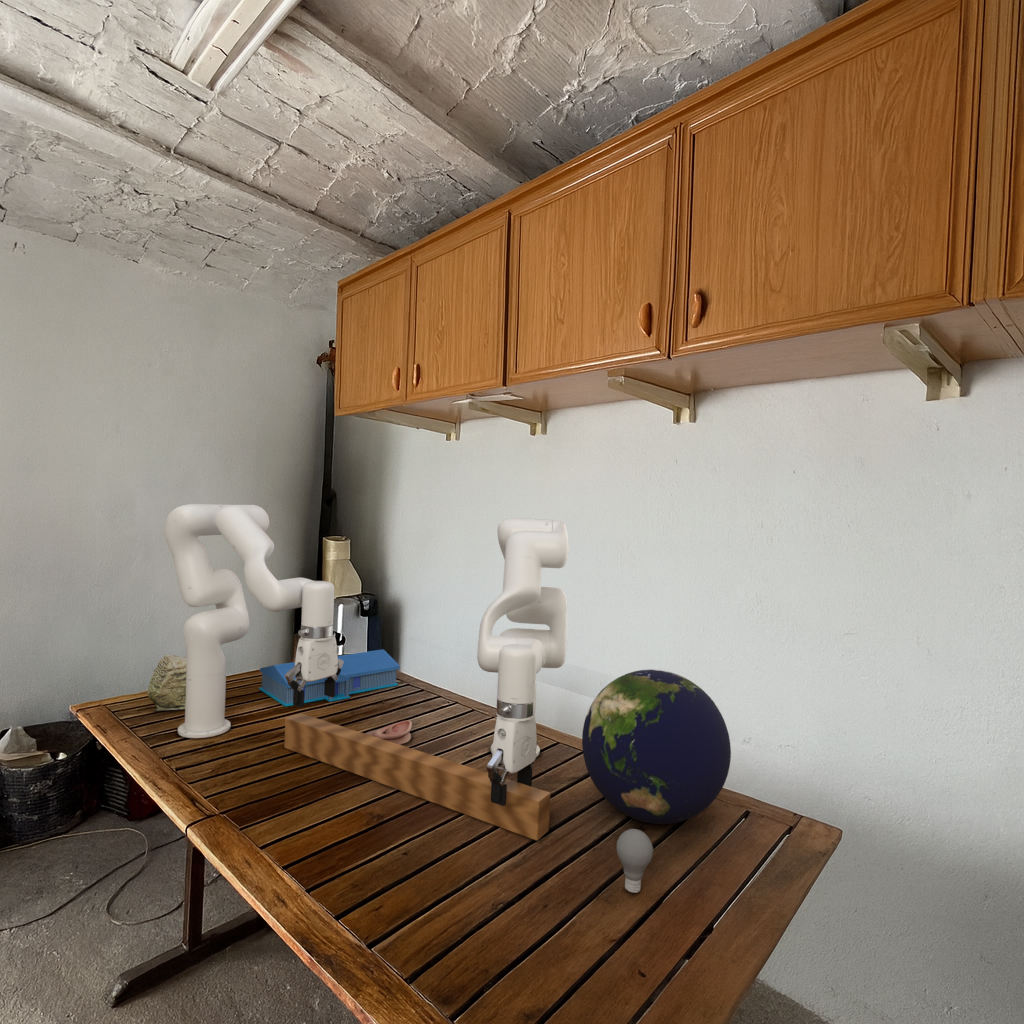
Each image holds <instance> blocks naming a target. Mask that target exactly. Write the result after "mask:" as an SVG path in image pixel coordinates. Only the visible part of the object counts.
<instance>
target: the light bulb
mask: <svg viewBox="0 0 1024 1024" xmlns="http://www.w3.org/2000/svg"><path fill="white" fill-rule="evenodd" d="M615 849H616V854H617V857H618V859H619V861H620V863H621V865H622V867H623V873H624V874H623V875H624V876H625V878H624V888H625V890H627V891H628V892H630V893H634V894H635V893H639V892H640V891H641V889H642V887H641V886H642V879H643V877H644V875H645V871H646V868H647V867H648V866H649V864H650V863H651V861H652V859H653V855H654V847H653V843H652V841H651V838H649V836H648V835H647V834H646V833H645V832H643V831H642V830H641V829H636V828H629V829H627V830H625V831H623V832H622V833H621V834H620V835H619V837H618V839H617V841H616V847H615Z"/></svg>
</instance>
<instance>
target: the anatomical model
mask: <svg viewBox="0 0 1024 1024" xmlns="http://www.w3.org/2000/svg"><path fill="white" fill-rule="evenodd" d="M412 728H413V722H412V721H411V720H409V719H408V720H402V721H399V722H395V723H392V724H389V725H386V726H384V727H381V728H378V729H374V730H370V731H367V732H365V733H364V734H368V735H371V736H374V737H377V738H380V739H383V740H386V741H390V742H393V743H396V744H399V745H404V744H406V743H408V742H410V740H411V739H412V734H411V733H410V732H411V730H412Z"/></svg>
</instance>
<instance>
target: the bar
mask: <svg viewBox="0 0 1024 1024" xmlns="http://www.w3.org/2000/svg"><path fill="white" fill-rule="evenodd" d="M284 749H286V750H290V751H292V752H295V753H297V754H301V755H303V756H306V757H308V758H310V759H314V760H317V761H320V762H322V763H325V764H328V765H330V766H333V767H336V768H338V769H341V770H344V771H346V772H349V773H352V774H355V775H358V776H360V777H363V778H364V779H365V778H366V779H368V780H371V781H374V782H377V783H379V784H382V785H385V786H386V787H387V786H388V787H390V788H393V789H396V790H398V791H401V792H404V793H406V794H409V795H411V796H414V797H417V798H420V799H422V800H425V801H428V802H431V803H434V804H437V805H439V806H442V807H444V808H447V809H450V810H453V811H455V812H458V813H461V814H464V815H466V816H468V817H471V818H474V819H477V820H480V821H483V822H485V823H488V824H490V825H493V826H496V827H499V828H501V829H504V830H507V831H509V832H512V833H515V834H518V835H520V836H523V837H526V838H528V839H531V840H534V841H539V840H541V838H542V837H544V835H546V834H547V833H548V832H549V831H550V817H551V815H550V814H551V795H552V794H551V792H549V791H546V790H544V789H540V788H537V787H533V786H532V787H531V786H528V785H525V784H522V783H518V782H517V781H515V780H512V779H509V778H507V779H506V782H505V784H507V794H506V805H504V806H501V805H498V804H495V803H492V802H491V782H490V778H489V777H488V771H484V770H481V769H477V768H474V767H471V766H468V765H465V764H461V763H458V762H457V761H456V762H455V761H453V760H449V759H446V758H443V757H441V756H437V755H433V754H429V753H427V752H424V751H421V750H417V749H414V748H411V747H408V746H405V745H403V744H400V745H399V744H396V743H393V742H390V741H386V740H383V739H380V738H377V737H374V736H371V735H368V734H365V733H364V732H361V731H358V730H355V729H352V728H348V727H345V726H342V725H340V724H336V723H333V722H329V721H327V720H324V719H321V718H317V717H314V716H311V715H307V714H304V713H302V712H300V713H296V714H293V715H289V716H288V717H285V721H284Z"/></svg>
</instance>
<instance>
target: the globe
mask: <svg viewBox="0 0 1024 1024" xmlns="http://www.w3.org/2000/svg"><path fill="white" fill-rule="evenodd" d="M581 748H582V756H583V759H584V764H585V767H586V770H587V772H588V775H589V777H590V779H591V781H592V784H593V785H594V786H595V788H596V789H597V791H598V793H600V795H601V796H602V797H603V798H604V799H605V800H606V801H607V802H608V803H609V805H611V806H612V807H613V808H614V809H616V810H618V812H620V813H622V814H623V815H625V816H627V817H629V818H632V819H634V820H636V821H639V822H643V823H646V824H652V825H672V824H673V825H674V824H678V823H682V822H685V821H688V820H690V819H692V818H694V817H697V816H698V815H699V814H700V813H702V812H704V811H705V810H706V809H707V808H708V807H709V806H710V805H712V803H713V802H714V801H715V800H716V799H717V798H718V796H719V795H720V793H721V791H722V789H723V788H724V786H725V783H726V780H727V778H728V776H729V771H730V767H731V760H732V759H731V758H732V750H731V749H732V747H731V738H730V734H729V731H728V727H727V724H726V721H725V719H724V717H723V715H722V712H721V711H720V709H719V708H718V706H717V704H716V703H715V701H714V700H713V699H712V697H710V696H709V694H708V693H707V692H705V690H704V689H702V688H701V687H700V686H698V685H697V684H696V683H694V682H693V681H692V680H690V679H688V678H686V677H684V676H683V675H680V674H677V673H674V672H672V671H668V670H667V671H666V670H663V669H654V668H653V669H640V670H635V671H630V672H627V673H625V674H623V675H621V676H618V677H617V678H615V679H613V680H612V681H611V682H609V683H608V684H606V685H605V686H604V687H603V688H602V689H601V690H600V691H599V693H598V694H597V695H596V696H595V698H594V699H593V701H592V702H591V704H590V706H589V708H588V710H587V713H586V715H585V719H584V722H583V728H582V737H581Z"/></svg>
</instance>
